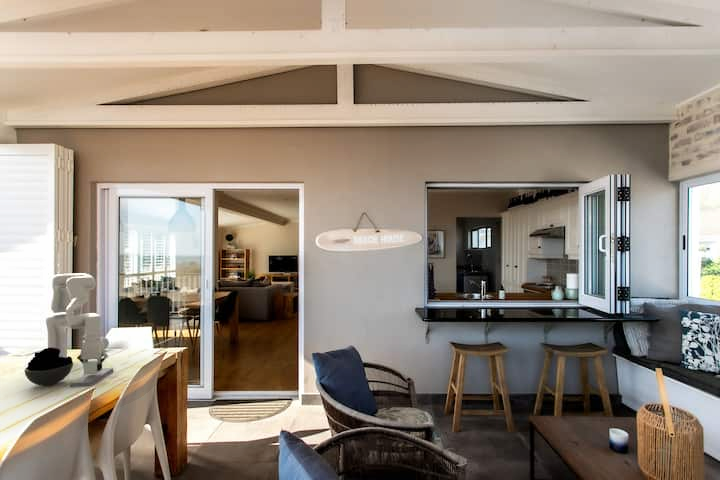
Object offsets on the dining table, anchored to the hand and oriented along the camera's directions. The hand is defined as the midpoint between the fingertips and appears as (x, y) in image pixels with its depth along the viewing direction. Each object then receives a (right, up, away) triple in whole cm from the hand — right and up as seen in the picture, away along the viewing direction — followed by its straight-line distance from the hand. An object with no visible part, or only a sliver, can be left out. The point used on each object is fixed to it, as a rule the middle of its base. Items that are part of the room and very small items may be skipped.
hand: (92, 370), depth 212 cm
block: (0, -1, 0) cm, 1 cm away
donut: (-35, -6, +59) cm, 69 cm away
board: (0, -5, 0) cm, 5 cm away
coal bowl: (-17, -5, -9) cm, 20 cm away
